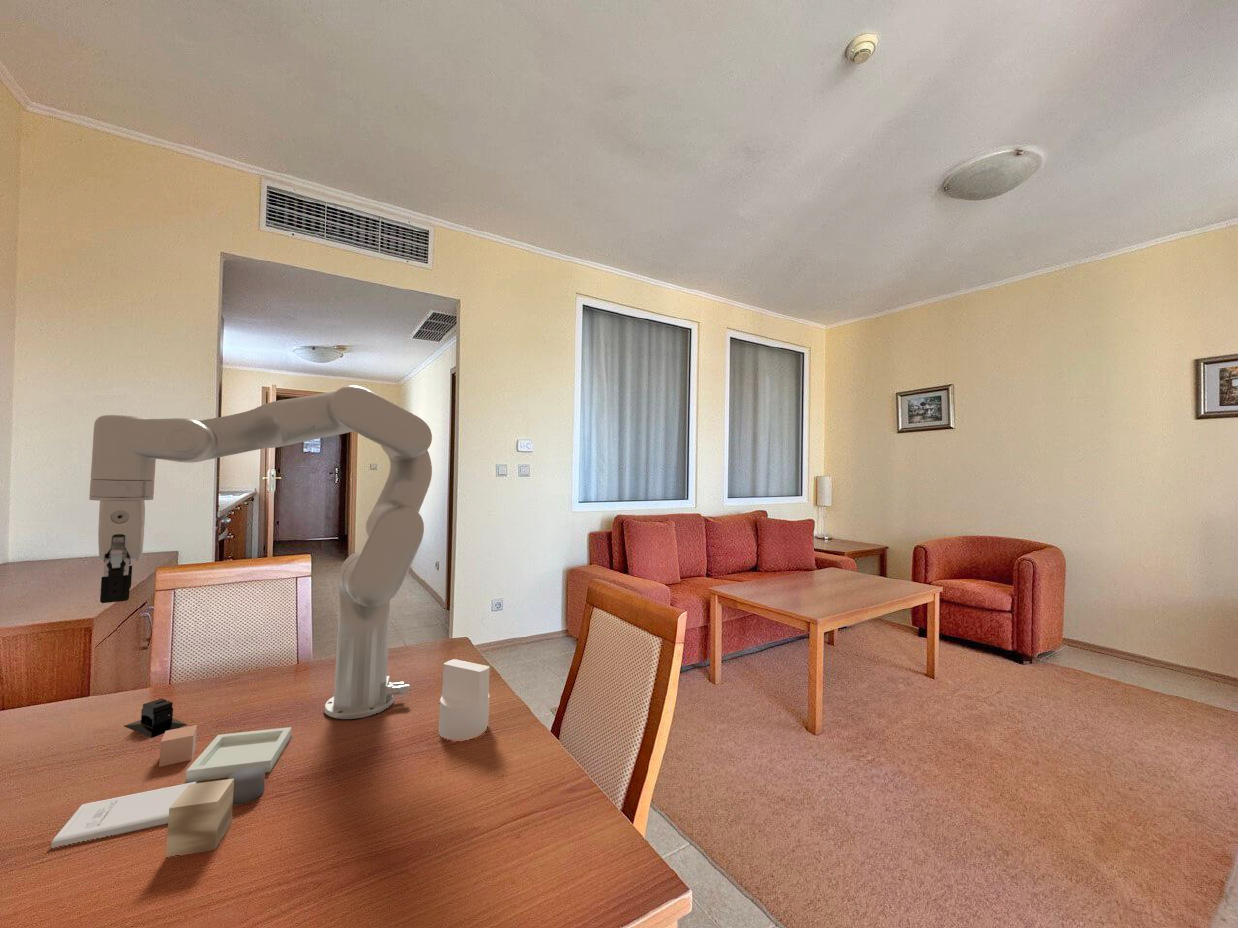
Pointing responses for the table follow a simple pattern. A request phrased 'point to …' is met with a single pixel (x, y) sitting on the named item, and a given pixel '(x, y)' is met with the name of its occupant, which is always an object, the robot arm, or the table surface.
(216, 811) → the beech block
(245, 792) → the grey rounded lump
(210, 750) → the tray
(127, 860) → the table surface
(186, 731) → the terracotta cube
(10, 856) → the table surface
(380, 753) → the table surface
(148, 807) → the external hard drive
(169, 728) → the black boxy piece
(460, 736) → the white rounded pedestal block
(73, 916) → the table surface
